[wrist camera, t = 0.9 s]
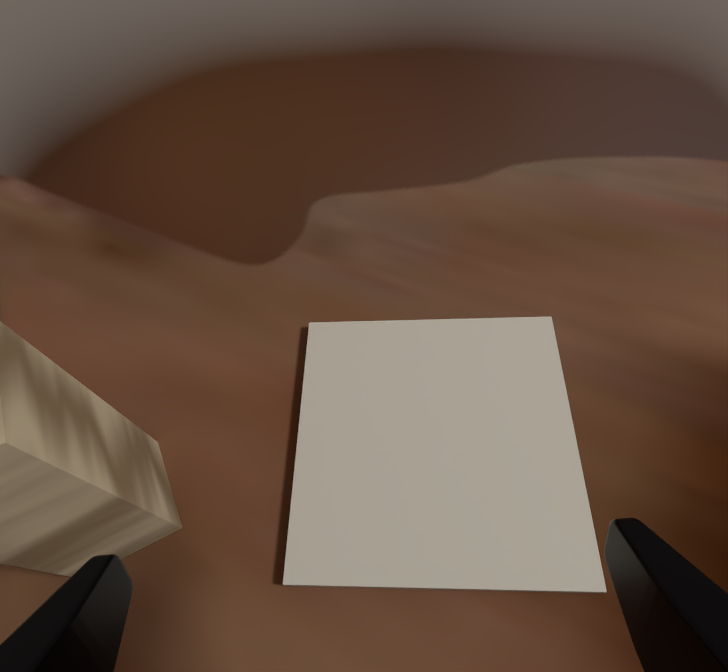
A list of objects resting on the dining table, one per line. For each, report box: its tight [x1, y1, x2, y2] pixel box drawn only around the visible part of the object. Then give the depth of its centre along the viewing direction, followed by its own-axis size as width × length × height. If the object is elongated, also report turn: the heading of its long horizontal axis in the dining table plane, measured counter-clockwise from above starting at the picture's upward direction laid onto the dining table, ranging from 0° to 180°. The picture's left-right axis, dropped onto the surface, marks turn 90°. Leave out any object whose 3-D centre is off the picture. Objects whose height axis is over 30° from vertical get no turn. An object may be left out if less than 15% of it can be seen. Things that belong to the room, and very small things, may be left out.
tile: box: [283, 317, 607, 593], centre depth 26 cm, size 14×14×1 cm
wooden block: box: [0, 321, 182, 577], centre depth 20 cm, size 5×5×12 cm
